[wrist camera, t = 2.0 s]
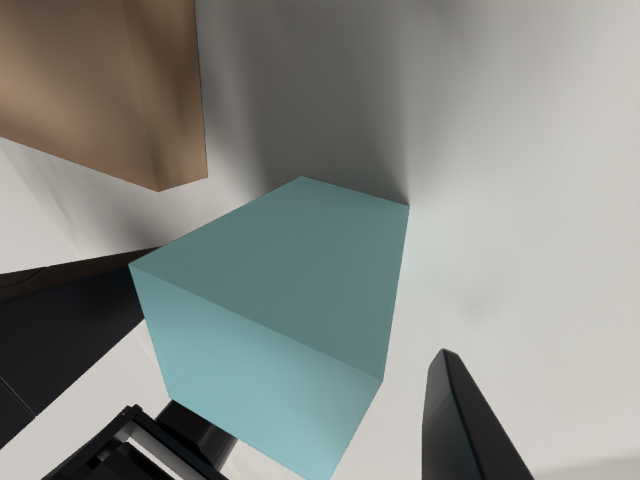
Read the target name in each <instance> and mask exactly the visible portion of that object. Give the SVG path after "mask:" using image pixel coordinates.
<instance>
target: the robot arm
mask: <svg viewBox="0 0 640 480" xmlns="http://www.w3.org/2000/svg"><path fill="white" fill-rule="evenodd" d="M161 247H163V246H160V247H155V248H149V249H143V250H137V251H132V252H126V253H120V254H115V255H109V256H103V257H98V258H92V259H86V260H80V261H75V262H70V263H64V264H58V265H52V266H49V267H41V268H35V269H29V270H23V271H17V272H11V273H5V274H0V450H1V449H2V448H3V447H4V446H5V445H6V444H7V443H8V442H9V441H10V440H12V439H13V438H14V437H15V436H16V435H17V434H18V433H19V432H20V431H21V430H22V429H23V428H25V427H26V426H27V425H28V424H29V423H30V422H31V421H32V420H33V419H35V417H36V416H38V415H39V414H40V413H41V412H42V411H43V410H44V409H45V408H46V407H48V406H49V405H50V404H51V403H52V402H53V401H54V400H55V399H56V398H57V397H59V396H60V395H61V394H62V393H63V392H64V391H65V390H66V389H67V388H69V387H70V386H71V385H72V384H73V383H74V382H75V381H76V380H77V379H78V378H79V377H81V376H82V375H83V374H84V373H85V372H86V371H87V370H88V369H89V368H91V367H92V366H93V365H94V364H95V363H96V362H97V361H98V360H99V359H100V358H102V357H103V356H104V355H105V354H106V353H107V352H108V351H109V350H110V349H112V347H114V346H115V345H116V344H117V343H118V342H119V341H120V340H121V339H123V337H125V336H126V335H127V334H128V333H129V332H130V331H131V330H132V329H134V328H135V327H136V326H137V325H138V324H139V323H140V322H141V321H142V320H143V319H145V317H144V314H143V310H142V307H141V304H140V301H139V297H138V294H137V291H136V288H135V284H134V281H133V278H132V275H131V271H130V268H129V265H128V264H129V263H131V262H133V261H135V260H137V259H139V258H141V257H143V256H145V255H147V254H149V253H151V252H153V251H155V250H157V249H159V248H161ZM142 410H143V409H142V408H141V407H140V406H139V405H137V404H135V405H134V406H133V407H130V406H126V407H125V409H123V410H122V412H120V413H119V414H118V415H117V416H116V417H115V418H114V419H113V420H112V421H111V422H110V423H109V424H108V425H107V426H106V427H105V428H104V429H103V430H101V431H100V432H99V433H98V434H97V435H96V436H94V437H93V438H92V439H91V440H89V441H88V442H87V443H86V444H84V445H83V446H82V447H81V448H79V449H78V450H77V451H76V452H74V453H73V454H72V455H71V456H70V457H68V458H67V459H66V460H64V461H63V462H62V463H61V464H59V465H58V466H57V467H56V468H55V469H53V470H52V471H51V472H50V473H48V474H47V475H46V476H45V477H43V478H42V479H41V480H175V479H174V478H172V477H171V476H170V475H169V474H167V473H166V472H165V471H164V470H162V469H161V468H160V467H159V466H157V465H156V464H155V463H154V462H152V461H151V460H150V459H149V458H147V457H146V456H145V455H144V454H143V453H141V452H140V451H139V450H137V449H136V448H135V447H134V446H133V445H131V444H130V443H129V442H126V441H127V439H128V438H129V437H131V438H132V439H134V440H135V441H137V443H139V444H140V445H141V446H143V447H144V448H145V449H146V450H147V451H149V452H150V453H151V454H152V455H154V456H155V457H156V458H157V459H159V460H160V461H161V462H162V463H164V464H165V465H166V466H167V467H169V468H170V469H171V470H172V471H174V472H175V473H176V474H177V475H179V476H180V477H181V478H182V479H184V480H229V479H227V478H226V477H225V476H224V475H222V474H221V473H220V470H221V469H222V467H223V465H224V463H225V462H226V460H227V458H228V456H229V455H230V453H231V451H232V449H233V448H234V446H235V444H236V442H237V441H238V438H236V437H235V436H233V435H231V434H230V433H228V432H226V431H225V430H223V429H221V428H220V427H218V426H216V425H215V424H213V423H211V422H210V421H208V420H206V419H205V418H203V417H201V416H200V415H198V414H196V413H195V412H193V411H191V410H190V409H188V408H186V407H185V406H183V405H181V404H180V403H178V402H176V401H175V400H173V399H172V400H171V401H170V402H169V403H168V405H167V406H166V407H165V408H164V409H163V410H162V411H161V413H160V414H159V415H158V416H157V417H156V418H155V419H154V420H153V419H152V418H151V417H149V416H148V415H147V414H146V413H144V412H143V411H142ZM422 480H534V478H533V476H532V475H531V473H530V471H529V470H528V468H527V466H526V465H525V463H524V461H523V460H522V458H521V457H520V455H519V453H518V452H517V450H516V448H515V447H514V445H513V443H512V442H511V440H510V439H509V437H508V435H507V434H506V432H505V430H504V429H503V427H502V426H501V424H500V422H499V421H498V419H497V417H496V416H495V414H494V412H493V411H492V409H491V408H490V406H489V404H488V403H487V401H486V399H485V398H484V396H483V394H482V393H481V391H480V390H479V388H478V386H477V385H476V383H475V381H474V380H473V378H472V376H471V375H470V373H469V372H468V370H467V368H466V367H465V365H464V363H463V362H462V360H461V358H460V357H459V356H458V355H457V354H456V353H454V352H452V351H449V350H447V349H441V350H440V351H439V352H438V354H437V355H436V357H435V358H434V360H433V361H432V363H431V364H430V366H429V370H428V377H427V386H426V395H425V403H424V412H423V422H422Z"/></svg>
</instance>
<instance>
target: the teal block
mask: <svg viewBox="0 0 640 480" xmlns="http://www.w3.org/2000/svg"><path fill="white" fill-rule="evenodd" d="M409 209H410V206H408V205H404V204H401V203H397V202H394V201H390V200H387V199H383V198H380V197H376V196H372V195H369V194H365V193H362V192H358V191H355V190H351V189H347V188H344V187H340V186H337V185H333V184H330V183H326V182H322V181H319V180H315V179H312V178H308V177H305V176H300V177H298V178H296V179H294V180H293V181H291V182H289V183H287V184H285V185H283V186H281V187H279V188H277V189H275V190H273V191H271V192H269V193H267V194H265V195H263V196H261V197H259V198H257V199H255V200H253V201H251V202H249V203H247V204H245V205H243V206H241V207H239V208H237V209H235V210H233V211H232V212H230V213H228V214H226V215H224V216H222V217H220V218H218V219H216V220H214V221H212V222H210V223H208V224H206V225H204V226H202V227H200V228H198V229H196V230H194V231H192V232H190V233H188V234H186V235H184V236H182V237H180V238H178V239H176V240H174V241H173V242H171V243H169V244H167V245H165V246H163V247H161V248H159V249H157V250H155V251H153V252H151V253H149V254H147V255H145V256H143V257H141V258H139V259H137V260H135V261H133V262H131V263H129V264H128V265H129V268H130V271H131V275H132V278H133V281H134V284H135V288H136V291H137V294H138V297H139V301H140V304H141V307H142V310H143V314H144V317H145V320H146V323H147V327H148V330H149V333H150V336H151V340H152V343H153V346H154V349H155V353H156V356H157V359H158V362H159V366H160V369H161V372H162V375H163V379H164V382H165V385H166V388H167V392H168V395H169V397H170V398H171V399H173V400H175V401H176V402H178V403H180V404H181V405H183V406H185V407H186V408H188V409H190V410H191V411H193V412H195V413H196V414H198V415H200V416H201V417H203V418H205V419H206V420H208V421H210V422H211V423H213V424H215V425H216V426H218V427H220V428H221V429H223V430H225V431H226V432H228V433H230V434H231V435H233V436H235V437H236V438H238V439H240V440H241V441H243V442H245V443H246V444H248V445H250V446H251V447H253V448H255V449H256V450H258V451H260V452H261V453H263V454H265V455H266V456H268V457H270V458H271V459H273V460H275V461H276V462H278V463H280V464H281V465H283V466H285V467H286V468H288V469H290V470H291V471H293V472H295V473H296V474H298V475H300V476H301V477H303V478H305V479H306V480H330V479H331V477H332V475H333V473H334V471H335V469H336V468H337V466H338V464H339V462H340V460H341V458H342V456H343V455H344V453H345V451H346V449H347V447H348V445H349V443H350V441H351V440H352V438H353V436H354V434H355V432H356V430H357V428H358V426H359V425H360V423H361V421H362V419H363V417H364V415H365V413H366V412H367V410H368V408H369V406H370V404H371V402H372V400H373V398H374V397H375V395H376V393H377V391H378V389H379V387H380V385H381V383H382V382H383V377H384V371H385V364H386V358H387V351H388V345H389V338H390V332H391V325H392V319H393V312H394V306H395V299H396V293H397V286H398V280H399V273H400V267H401V260H402V254H403V248H404V241H405V235H406V228H407V222H408V215H409Z"/></svg>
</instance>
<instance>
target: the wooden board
mask: <svg viewBox="0 0 640 480" xmlns="http://www.w3.org/2000/svg"><path fill="white" fill-rule="evenodd" d="M0 137H3V138H6V139H9V140H11V141H14V142H17V143H20V144H23V145H26V146H28V147H31V148H34V149H37V150H40V151H43V152H46V153H48V154H51V155H54V156H57V157H60V158H63V159H65V160H68V161H71V162H74V163H77V164H80V165H82V166H85V167H88V168H91V169H94V170H97V171H100V172H102V173H105V174H108V175H111V176H114V177H117V178H119V179H122V180H125V181H128V182H131V183H134V184H136V185H139V186H142V187H145V188H148V189H151V190H154V191H156V192H160V191H163V190H166V189H170V188H173V187H177V186H180V185H183V184H187V183H190V182H194V181H197V180H200V179H204V178H207V177H208V175H207V162H206V149H205V137H204V124H203V111H202V99H201V86H200V73H199V60H198V48H197V35H196V22H195V9H194V0H0Z"/></svg>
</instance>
